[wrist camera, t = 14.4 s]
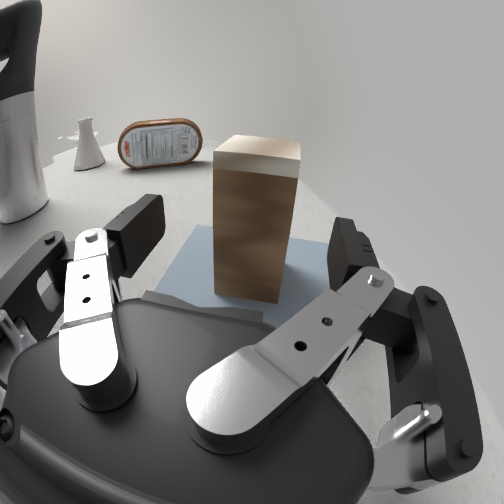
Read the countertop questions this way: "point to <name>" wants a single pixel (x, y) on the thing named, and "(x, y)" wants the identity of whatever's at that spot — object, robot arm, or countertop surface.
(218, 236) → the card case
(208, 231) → the mat
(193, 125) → the tin
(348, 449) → the robot arm
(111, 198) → the countertop surface
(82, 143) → the flask
